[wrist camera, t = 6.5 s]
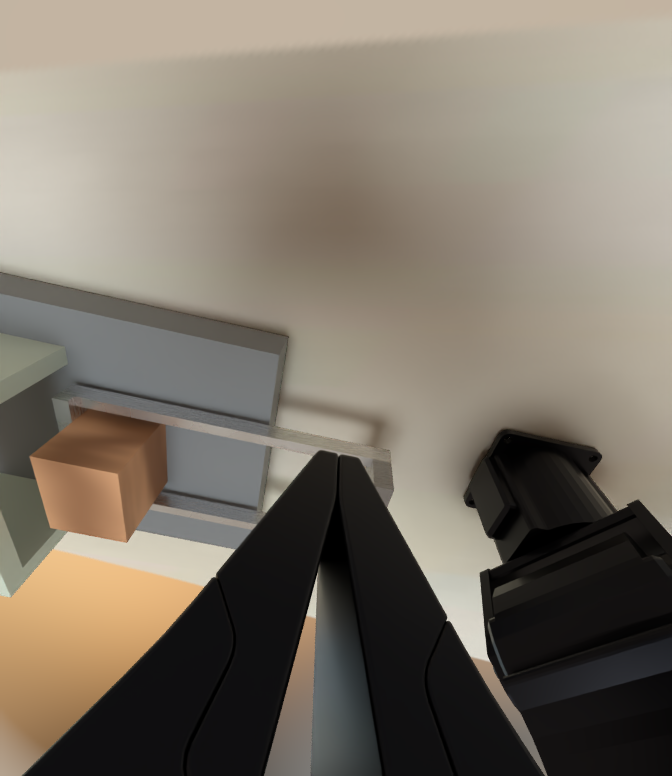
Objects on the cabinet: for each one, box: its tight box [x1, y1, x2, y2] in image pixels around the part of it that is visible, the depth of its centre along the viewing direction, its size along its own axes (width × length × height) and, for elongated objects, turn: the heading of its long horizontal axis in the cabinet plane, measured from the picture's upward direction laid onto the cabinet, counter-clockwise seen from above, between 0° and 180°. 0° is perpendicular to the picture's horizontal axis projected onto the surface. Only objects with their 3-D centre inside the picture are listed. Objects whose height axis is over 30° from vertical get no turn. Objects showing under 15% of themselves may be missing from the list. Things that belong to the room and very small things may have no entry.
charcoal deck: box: [0, 273, 288, 549], centre depth 22 cm, size 26×16×2 cm, turn 78°
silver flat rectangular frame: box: [52, 384, 394, 530], centre depth 20 cm, size 18×8×3 cm, turn 78°
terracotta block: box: [29, 409, 168, 543], centre depth 19 cm, size 4×5×4 cm
